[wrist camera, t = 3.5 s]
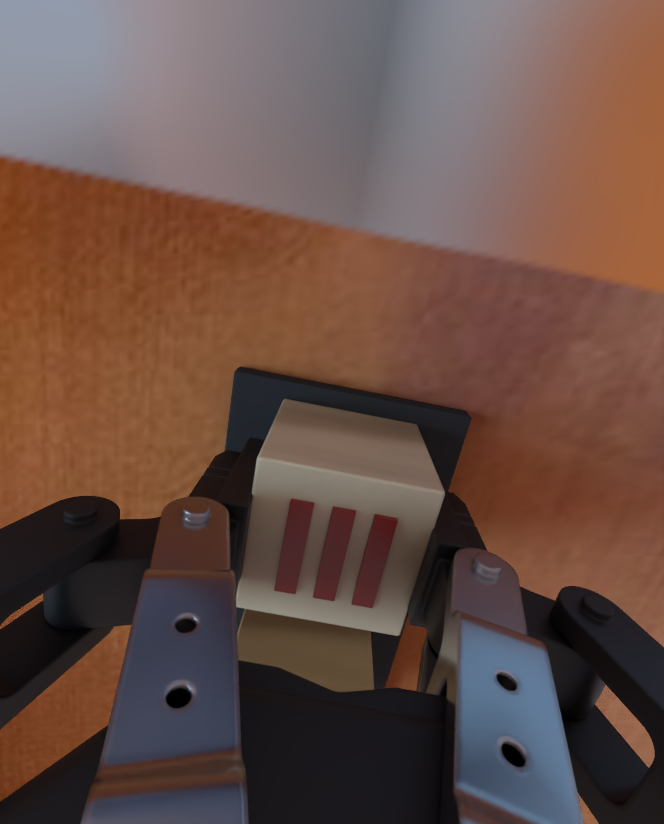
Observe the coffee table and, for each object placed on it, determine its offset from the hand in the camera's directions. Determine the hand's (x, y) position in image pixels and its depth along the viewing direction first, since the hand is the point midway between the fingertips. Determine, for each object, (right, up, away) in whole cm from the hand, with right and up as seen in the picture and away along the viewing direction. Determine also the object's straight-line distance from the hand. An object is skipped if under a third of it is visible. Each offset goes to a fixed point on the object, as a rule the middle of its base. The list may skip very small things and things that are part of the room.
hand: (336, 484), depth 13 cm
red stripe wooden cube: (0, 0, +1) cm, 1 cm away
